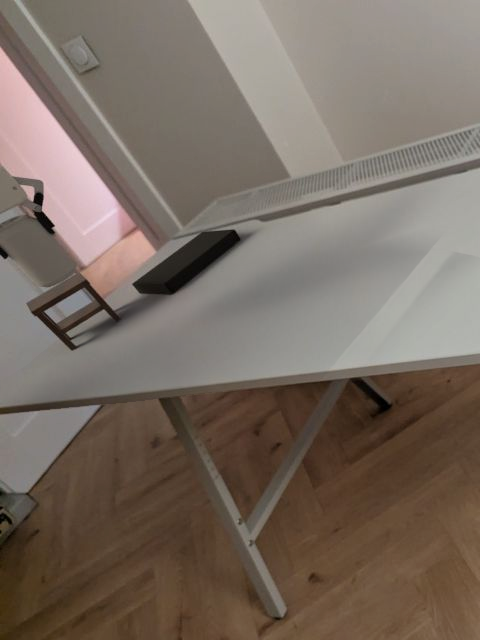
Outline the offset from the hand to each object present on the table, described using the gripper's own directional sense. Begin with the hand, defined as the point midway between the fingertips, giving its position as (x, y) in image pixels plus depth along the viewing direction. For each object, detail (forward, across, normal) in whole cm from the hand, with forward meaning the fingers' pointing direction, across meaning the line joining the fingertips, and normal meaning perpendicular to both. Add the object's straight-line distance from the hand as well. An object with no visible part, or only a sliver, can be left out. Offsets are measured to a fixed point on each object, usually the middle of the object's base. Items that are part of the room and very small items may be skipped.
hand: (29, 244), depth 95 cm
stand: (+24, -3, +20) cm, 32 cm away
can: (+7, 0, 0) cm, 7 cm away
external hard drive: (+24, +23, +22) cm, 40 cm away
